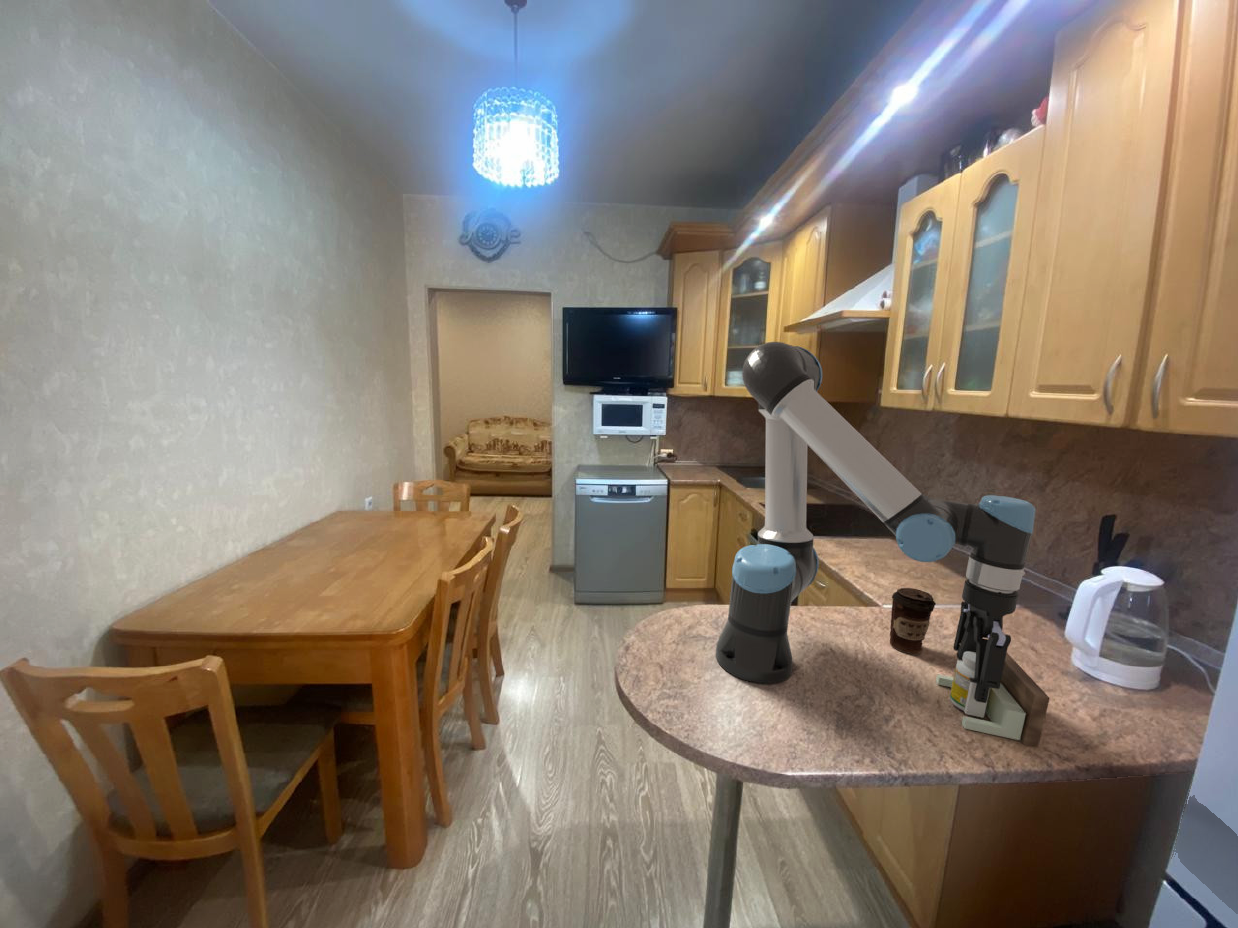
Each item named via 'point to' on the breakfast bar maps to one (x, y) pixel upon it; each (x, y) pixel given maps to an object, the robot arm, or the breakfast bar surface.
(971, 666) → the supplement bottle
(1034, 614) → the breakfast bar surface
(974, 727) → the slot block
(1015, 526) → the robot arm
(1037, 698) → the backstop wall
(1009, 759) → the breakfast bar surface
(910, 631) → the coffee cup
